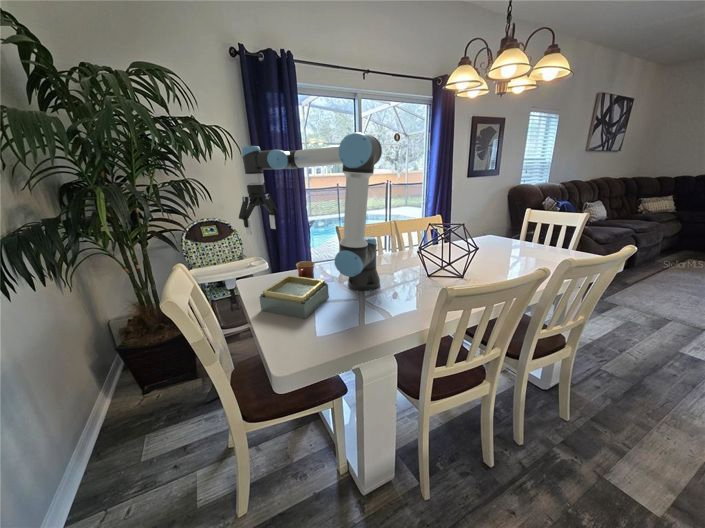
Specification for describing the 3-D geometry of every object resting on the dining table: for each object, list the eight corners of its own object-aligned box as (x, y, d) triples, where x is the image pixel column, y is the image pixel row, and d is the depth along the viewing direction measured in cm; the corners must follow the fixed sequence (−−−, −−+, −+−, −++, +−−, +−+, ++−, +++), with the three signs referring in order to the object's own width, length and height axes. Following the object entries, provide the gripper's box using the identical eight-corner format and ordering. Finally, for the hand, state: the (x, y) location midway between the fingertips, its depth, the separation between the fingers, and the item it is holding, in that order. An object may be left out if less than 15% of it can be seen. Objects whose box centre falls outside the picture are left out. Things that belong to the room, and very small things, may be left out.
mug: (301, 280, 143) (300, 260, 140) (318, 281, 141) (317, 261, 138) (292, 289, 132) (290, 268, 129) (310, 291, 130) (308, 269, 127)
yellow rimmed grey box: (328, 298, 125) (327, 279, 122) (305, 321, 107) (303, 299, 104) (283, 291, 132) (281, 273, 130) (255, 311, 115) (252, 290, 112)
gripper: (272, 182, 138) (277, 226, 144) (224, 185, 118) (233, 236, 125) (282, 182, 134) (287, 227, 140) (235, 186, 114) (243, 238, 121)
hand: (261, 231), depth 133 cm, fingers open, 13 cm apart
